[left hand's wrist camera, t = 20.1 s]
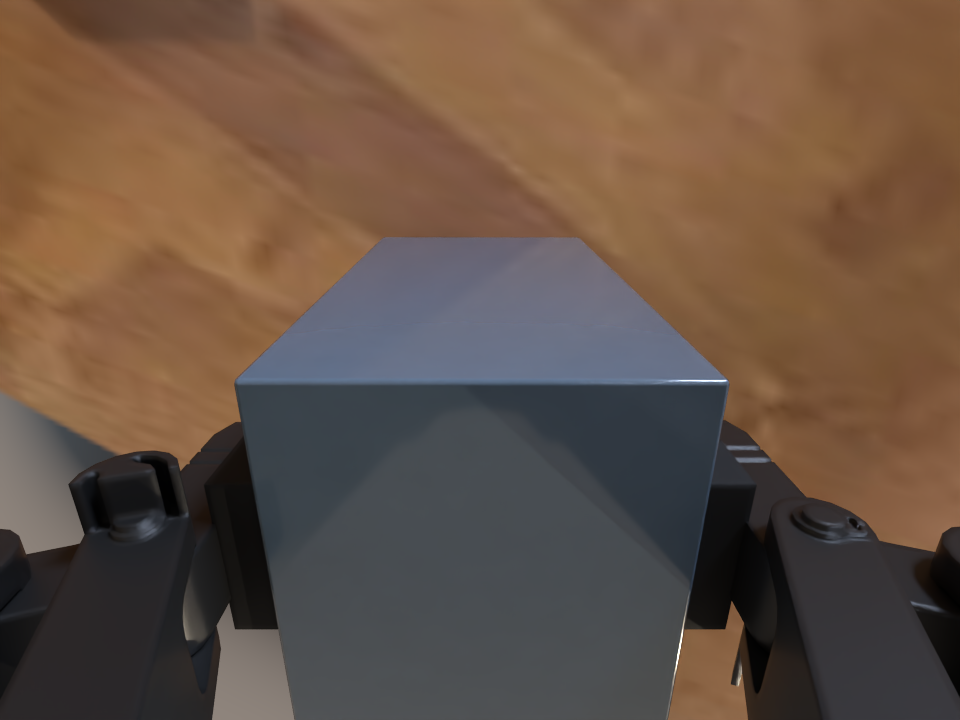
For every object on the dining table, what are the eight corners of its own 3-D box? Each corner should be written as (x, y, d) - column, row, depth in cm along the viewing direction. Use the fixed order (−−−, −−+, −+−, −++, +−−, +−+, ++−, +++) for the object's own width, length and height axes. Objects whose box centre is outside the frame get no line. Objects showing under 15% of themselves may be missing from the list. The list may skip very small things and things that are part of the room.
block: (393, 415, 20) (293, 726, 9) (382, 236, 17) (230, 379, 7) (568, 415, 20) (668, 727, 9) (579, 237, 17) (732, 380, 7)
